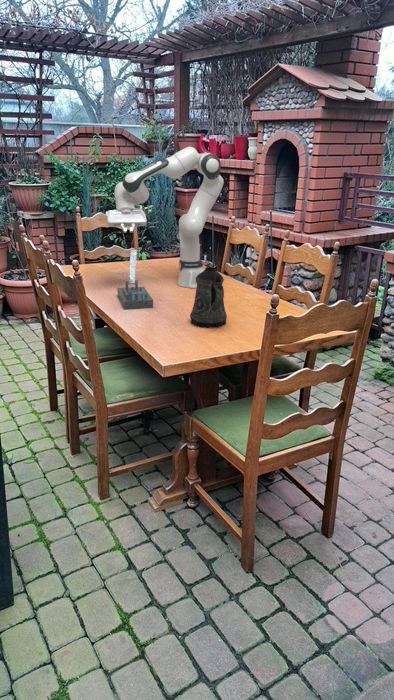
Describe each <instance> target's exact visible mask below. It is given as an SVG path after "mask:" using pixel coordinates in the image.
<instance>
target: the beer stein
mask: <svg viewBox="0 0 394 700" xmlns="http://www.w3.org/2000/svg"><path fill="white" fill-rule="evenodd" d="M204 268H205V270H204V271H203V272H201V273H200V274H199V275H197V277H196V283H197V288H195V289H196V290H195V293H194V294H195V295H194V302H193V307H192V310H191V312H190V314H189V315H190V316H189V318H190V321H191V324H192V325H193V324H194V325H193V326H195V325H196V326H195V327H198V326H199V328H204V327H206V329H210V328H209V327H216V328H220V327H223V326H224V325H225V324H226V321H227V317H228V315H227V313H226V309H225V308H226V307H225V301H224V297H225V288H224V286H223V283H224V280H225V279H224V277H223V276H222V275H221V273H220V272H218V270H217V268H216V267H213V266H208V267H207V266H206V267H204ZM222 325H223V326H222ZM219 326H220V327H219Z"/></svg>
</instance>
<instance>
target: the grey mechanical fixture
mask: <svg viewBox="0 0 394 700" xmlns="http://www.w3.org/2000/svg"><path fill="white" fill-rule="evenodd" d="M128 281H129V279H125V280H124V285H125V287H117V297H118V299H119V301H120V303H121V305H122V307H123V310H140V309H154V299H153V298H152V296H151V295H150V293H149V292H148V291H147V289H146V287H145V286H139V285H138V282H139V281H138V279H135V283H134V286H130V287H129V284H128Z"/></svg>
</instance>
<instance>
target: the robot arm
mask: <svg viewBox="0 0 394 700" xmlns="http://www.w3.org/2000/svg"><path fill="white" fill-rule="evenodd" d="M221 166H222V163H221V160H220V158H219V156H217V155H216V154H213V153H210V152H201V153H199V152H198V151H197V149H196V148H195V147H193V146H187V147H185V148H183V149H180V150H179V151H177V152H176V153H174V154H173V155H171V156H169V157H166V158H165V157H161V158H158V159H156V160H154V161H152V162H150V163H148V164H145V166H143V167H140V168H138V169H136V170H134V171H130V172H128V173H126V174H125V175H124V176H123V179H122V181H120V182H118V183H117V184H115V188H114V201H115V207H116V209H109V210H106V212H105V217H106V218H107V219H106V220H107V224H106V225H107V226H108V227H110V228H113V227H120V229H121V230H122V231H123V233H124V234H126V233H127V232H128V230H127V229H128V228H127V227H130V228H129V233H130V234H131V233H134V228H135V227H146V225H147V221H148V220H147V216H146V212H145V211H144V210H143V206H142V205H141V204H145V203H146V202H147V201H148V200H149V197H150V191H149V189H148V188H147V186H146V184H145V182H144V181H145V180H148V179H149V178H151V177H153V176H155V175H157V174H163V175H164V176H166V177H168V178H171V179H173V180H174V179H180V178H181V177H182V176H185V174H187V173H188V172H190V171H191V170H194V169H195V170H196V171H197V172H198V173H199V174H201V175H203V180H202V183H201V185H200V186H199V188H198V190H197V191H196V194H195V195H194V197H193V199H192V201H191V204H190V207H189V209H188V212H187V213H184V214H182V215H181V216H180V218H178V219H179V220H178V234H179V235H178V236H179V245H180V246H179V248H180V250H179V252H180V253H179V261H178V269H179V273H178V279H177V283H176V285H177V286H179V287H183V288H190V289H196V288H197V283H196V277H197V275H199V274H200V273H201V272H203V271H204V270H205V268H206V267H204V266H205V265H207V264H206V261H203V260H201V259H200V257H201V244H200V235H201V234H202V232H203V228H204V227H205V224H206V221H207V219H208V216H209V214H210V212H211V210H212V208H213V207H214V205H215V203H216V201H217V200H218V197H219V196H220V194H221V191H222V190H223V186H224V183H225V181H224V178H223V177H222V176H221Z"/></svg>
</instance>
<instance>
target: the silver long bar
mask: <svg viewBox="0 0 394 700" xmlns="http://www.w3.org/2000/svg"><path fill="white" fill-rule="evenodd" d="M137 255H138V249H130V252H129V269H128V285H135V280H136V267H137V259H138V258H137V257H138V256H137Z"/></svg>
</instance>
